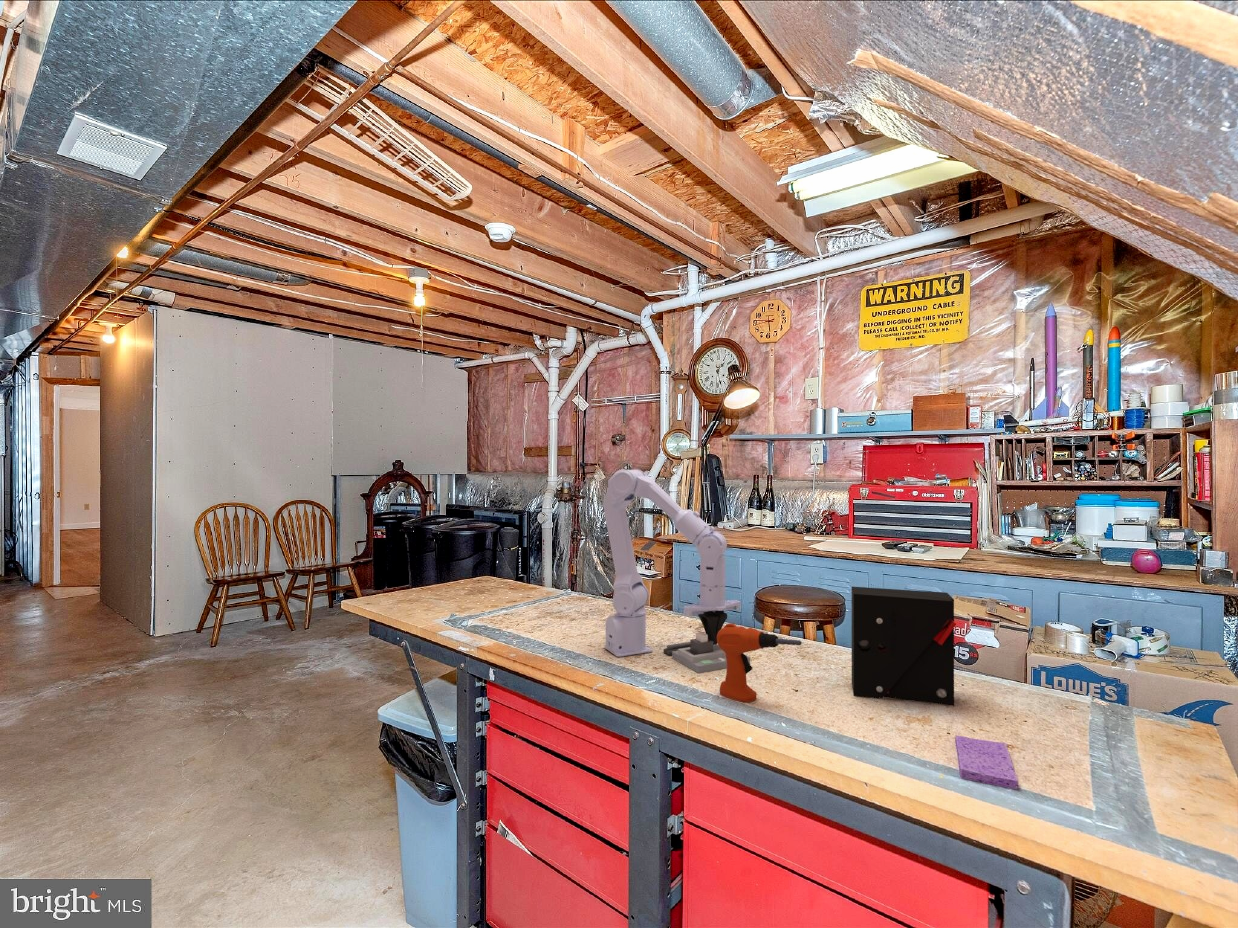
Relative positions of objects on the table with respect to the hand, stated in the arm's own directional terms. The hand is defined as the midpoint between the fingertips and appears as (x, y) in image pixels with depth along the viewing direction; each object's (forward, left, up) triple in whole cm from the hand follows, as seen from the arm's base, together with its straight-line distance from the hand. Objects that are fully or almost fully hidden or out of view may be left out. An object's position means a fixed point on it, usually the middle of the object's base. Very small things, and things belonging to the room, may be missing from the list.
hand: (712, 643), depth 133 cm
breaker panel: (-1, 0, -4) cm, 4 cm away
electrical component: (+22, -32, -4) cm, 39 cm away
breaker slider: (-3, 0, -2) cm, 4 cm away
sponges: (+10, -56, -5) cm, 57 cm away
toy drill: (-6, -23, -4) cm, 24 cm away
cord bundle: (-1, +7, -4) cm, 8 cm away
